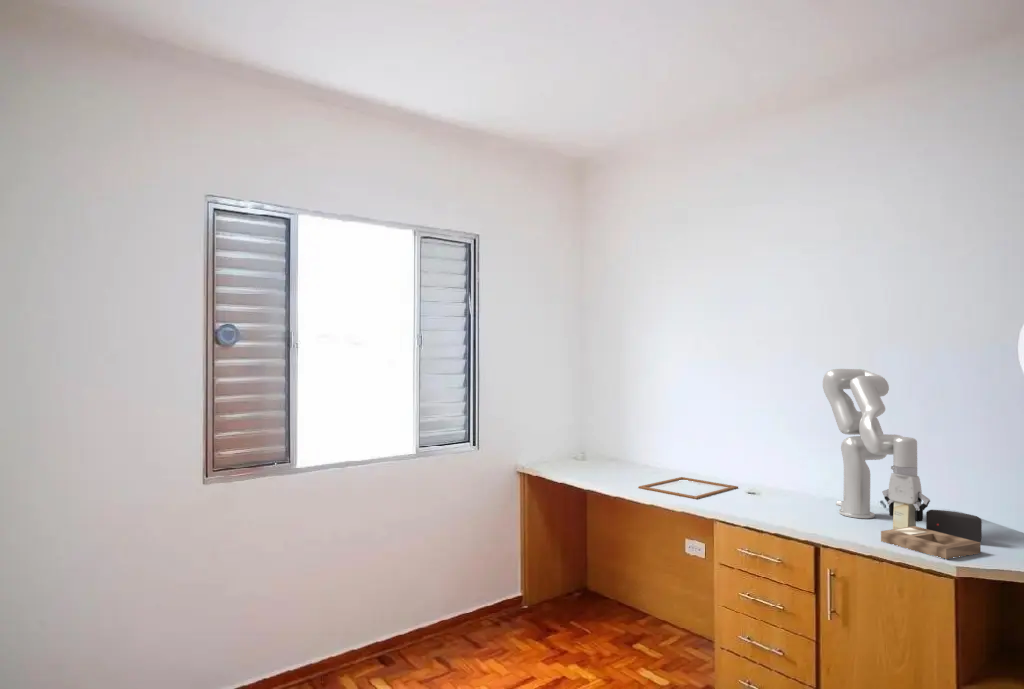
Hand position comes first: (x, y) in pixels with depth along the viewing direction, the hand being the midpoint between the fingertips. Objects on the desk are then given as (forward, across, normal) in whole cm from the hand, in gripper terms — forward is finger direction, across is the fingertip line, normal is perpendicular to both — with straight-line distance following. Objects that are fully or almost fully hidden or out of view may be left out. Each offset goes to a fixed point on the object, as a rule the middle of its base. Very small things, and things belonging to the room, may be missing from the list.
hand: (905, 518), depth 239 cm
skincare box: (+5, -1, 0) cm, 5 cm away
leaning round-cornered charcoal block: (+6, +13, +6) cm, 15 cm away
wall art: (+4, -92, -23) cm, 94 cm away
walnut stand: (+5, +15, -11) cm, 20 cm away
